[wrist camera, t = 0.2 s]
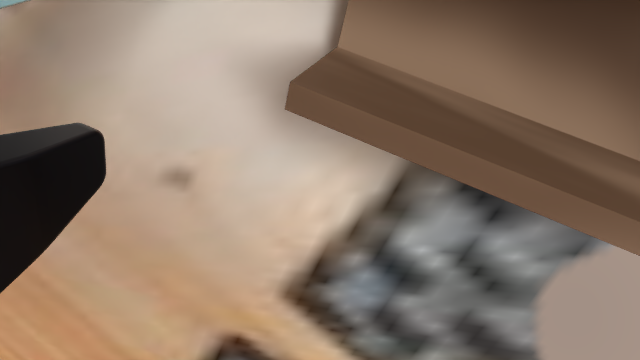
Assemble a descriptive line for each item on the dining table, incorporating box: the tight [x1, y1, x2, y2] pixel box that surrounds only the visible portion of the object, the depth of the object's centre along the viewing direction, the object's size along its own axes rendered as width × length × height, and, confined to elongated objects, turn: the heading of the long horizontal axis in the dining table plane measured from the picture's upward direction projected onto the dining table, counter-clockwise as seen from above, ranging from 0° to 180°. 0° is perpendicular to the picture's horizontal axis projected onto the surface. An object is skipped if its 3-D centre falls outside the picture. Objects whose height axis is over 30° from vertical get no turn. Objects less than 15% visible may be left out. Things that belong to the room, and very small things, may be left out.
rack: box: [285, 0, 640, 256], centre depth 18 cm, size 9×14×5 cm, turn 77°
